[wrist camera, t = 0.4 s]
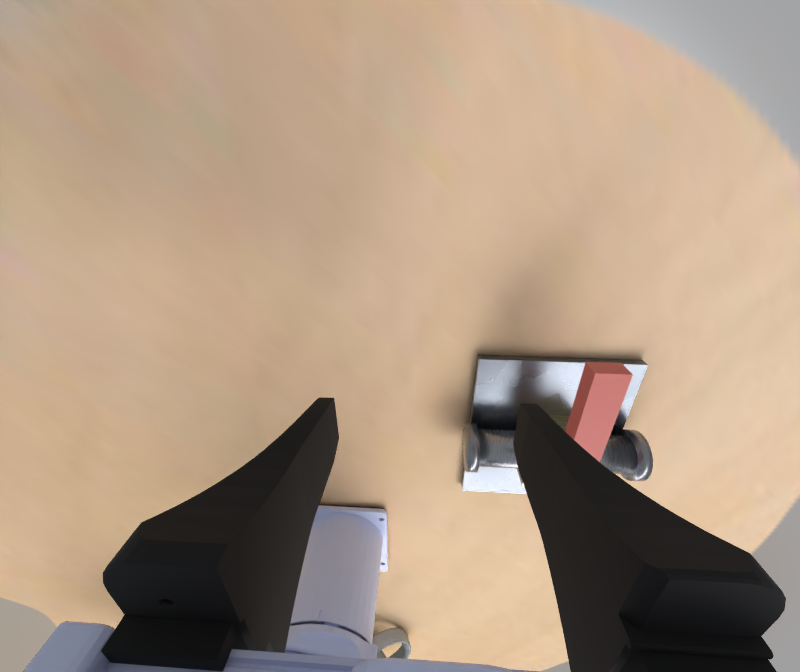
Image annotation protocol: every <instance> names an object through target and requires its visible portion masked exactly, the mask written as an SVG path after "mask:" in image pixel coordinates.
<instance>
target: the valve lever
mask: <svg viewBox="0 0 800 672" xmlns="http://www.w3.org/2000/svg"><path fill="white" fill-rule="evenodd" d="M632 377H633V374H632V373H631V372H630V371H629V370H628V369H627V368H626V367H625V366H624V365H623V364H622V363H610V362H586V363H585V366H584V369H583V373H582V376H581V380H580V383H579V386H578V390H577V393H576V396H575V400H574V403H573V406H572V410H571V413H570V417H569V420H568V423H567V427H566V430H565V432H566V433H567V434H568V435H569V436H570V437H571V438H573V439H574V440H575V441H576V442H577V443H578V444H579V445H580V446H581V447H582V448H584V449H585V450H586V451H587V452H588V453H589V454H591V455H592V456H593V457H594V458H595V459H596V460H598V461H599V462H600V461H601V458H602V455H603V453H604V450H605V448H606V445H607V442H608V440H609V437H610V434H611V432H612V429H613V427H614V424H615V421H616V419H617V416H618V413H619V411H620V408H621V405H622V403H623V400H624V398H625V395H626V392H627V390H628V387H629V384H630V382H631V379H632Z"/></svg>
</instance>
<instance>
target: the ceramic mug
mask: <svg viewBox="0 0 800 672" xmlns="http://www.w3.org/2000/svg"><path fill="white" fill-rule="evenodd" d="M396 643H402V646H401V647H400V648H399V649H398V650H397V651H396V652H395V653H394V654H393V655H391V656H390V657H389V658H401V659H408V657H409V655H410V652H411V646H410V642H409V639H408V635H407V633H406V632H405V631H404V630H403V629H401V628H390V629H387V630H384V631H382V632H380V633H378V634H377V635H375V636H373V640H372V644H374V645H377V646H378V648H377V658H386V656H385V654H384V653H383V651H382V649H384V648H386V647H387V646H390V645H393V644H396Z"/></svg>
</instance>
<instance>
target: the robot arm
mask: <svg viewBox="0 0 800 672" xmlns="http://www.w3.org/2000/svg"><path fill="white" fill-rule="evenodd" d="M338 440H339V434H338V426H337V418H336V410H335V402H334V398H318V399H317V400H316V401H315V402H314V403H313V404H312V405H311V406H310V407H309V408H308V409H307V410H306V411H305V412H304V413H303V414H302V415H301V416H300V417H299V418H298V419H297V420H296V421H295V422H294V423H293V424H292V425H291V426H290V427H289V428H288V429H287V430H286V431H285V432H284V433H283V434H282V435H281V436H279V437H278V438H277V439H276V440H275V441H274V442H273V443H272V444H270V445H269V446H268V447H267V448H266V449H265V450H263V451H262V452H261V453H260V454H259V455H257V456H256V457H255V458H253V459H252V460H251V461H249V462H248V463H247V464H245V465H244V466H243V467H241V468H240V469H238V470H237V471H235V472H234V473H232V474H231V475H229V476H227V477H226V478H224V479H223V480H221V481H220V482H218V483H217V484H215V485H213V486H212V487H210V488H208V489H207V490H205V491H203V492H202V493H200V494H198V495H196V496H194V497H192V498H191V499H189V500H187V501H185V502H183V503H181V504H179V505H177V506H175V507H173V508H171V509H169V510H167V511H165V512H163V513H161V514H159V515H157V516H155V517H153V518H151V519H148V520H146V521H144V522H142V523H141V524H140V525H139V526H138V528H137V529H136V530H135V531H134V533H133V534H132V535H131V536H130V538H129V539H128V540H127V541H126V543H125V544H124V545H123V546H122V548H121V549H120V550H119V552H118V553H117V554H116V555H115V557H114V558H113V559H112V561H111V562H110V563H109V564H108V566H107V567H106V569H105V570H104V572H103V583H104V585H105V587H106V589H107V591H108V592H109V594H110V595H111V597H112V598H113V599H114V601H115V602H116V603H117V605H118V606H119V607H120V609H121V610H122V612H123V613H124V614H125V615H124V617H123V618H122V620H121V621H120V623H119V624H118V626H117V628H116V629H114V628H113V627H110V626H108V625H104V624H98V623H83V622H69V621H65V622H63V623H61V624H60V625H59V626H58V627H57V629H56V630H55V631H54V633H53V634H52V635H51V636H50V638H49V639H48V640H47V642H46V643H45V644H44V645H43V646H42V648H41V649H40V650H39V652H38V653H37V654H36V655H35V657H34V658H33V659H32V660H31V662H30V663H29V664H28V666H27V667H26V668H25V669H24V671H23V672H538V671H524V670H510V669H506V668H501V667H496V666H491V665H483V664H470V663H456V662H442V661H429V660H415V659H401V658H377V648H378V646H377V645H374V644H372V640H373V630H374V621H375V612H376V602H377V593H378V583H379V574H380V572H386V571H387V570H388V531H387V511H386V510H384V509H375V508H358V507H340V506H323V505H319V503H320V501H321V498H322V495H323V492H324V489H325V486H326V483H327V480H328V477H329V475H330V472H331V469H332V466H333V463H334V459H335V454H336V450H337V445H338ZM513 446H514V451H515V456H516V461H517V465H518V469H519V472H520V475H521V478H522V481H523V484H524V487H525V490H526V493H527V496H528V498H529V501H530V504H531V507H532V510H533V513H534V515H535V518H536V521H537V524H538V527H539V530H540V533H541V537H542V540H543V544H544V548H545V552H546V556H547V560H548V564H549V568H550V573H551V577H552V581H553V586H554V590H555V595H556V599H557V604H558V609H559V613H560V618H561V623H562V628H563V633H564V638H565V643H566V648H567V654H568V659H569V664H570V670H571V672H776V670H775V669H774V667H773V666H772V665H771V663H770V662H769V660H768V659H772V658H773V653H772V651H771V649H770V648H769V647H768V645H767V644H766V642H765V641H764V640H763V638H762V637H761V636H762V635H763V634H764V632H765V631H766V630H767V629H768V628H769V627H770V626H771V625H772V624H773V623H774V622H775V621H776V620H777V619H778V618H779V617H780V615H781V614H782V612H783V611H784V608H785V601H786V598H785V596H784V594H783V592H782V591H781V589H780V588H779V587H778V586H777V585H776V584H775V582H774V581H773V580H772V579H771V578H770V576H769V575H768V574H767V573H766V572H765V570H764V569H763V568H762V567H761V566H760V565H759V563H758V562H757V561H756V560H755V559H754V558H753V557H752V555H751V554H750V553H748V552H746V551H744V550H742V549H740V548H738V547H736V546H734V545H732V544H730V543H728V542H726V541H724V540H722V539H720V538H718V537H716V536H714V535H712V534H710V533H708V532H706V531H704V530H703V529H701V528H699V527H697V526H695V525H694V524H692V523H690V522H688V521H687V520H685V519H683V518H681V517H679V516H678V515H676V514H674V513H673V512H671V511H669V510H668V509H666V508H664V507H663V506H661V505H659V504H658V503H656V502H655V501H653V500H652V499H650V498H649V497H647V496H645V495H644V494H642V493H641V492H639V491H638V490H636V489H635V488H633V487H632V486H631V485H629V484H628V483H626V482H625V481H624V480H622V479H621V478H620V477H618V476H617V475H616V474H614V473H613V472H611V471H610V470H609V469H608V468H606V467H605V466H604V465H602V464H601V463H600V462H599V461H598V460H596V459H595V458H594V457H593V456H592V455H591V454H589V453H588V452H587V451H586V450H585V449H584V448H582V447H581V446H580V445H579V444H578V443H577V442H576V441H575V440H574V439H573V438H571V437H570V436H569V435H568V434H567V433H566V432H565V431H564V430H563V429H562V428H561V427H560V426H559V425H558V424H557V423H556V422H555V421H554V420H553V419H552V418H551V417H550V416H549V415H548V414H547V413H546V412H545V411H544V410H543V409H542V408H541V407H540V406H539V405H538V404H526V403H521V404H520V409H519V414H518V420H517V425H516V430H515V435H514V441H513Z"/></svg>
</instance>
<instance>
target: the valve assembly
mask: <svg viewBox="0 0 800 672" xmlns="http://www.w3.org/2000/svg"><path fill="white" fill-rule="evenodd" d="M586 362H610V363H622V364H623V365H624V366H625V367H626V368H627V369H628V370H629V371H630V372H631V373H632V374H633V377H632V379H631V382H630V384H629V387H628V390H627V392H626V395H625V398H624V400H623V403H622V405H621V408H620V411H619V413H618V416H617V419H616V421H615V424H614V427H613V429H612V432H611V434H610V437H609V440H608V442H607V445H606V448H605V450H604V453H603V455H602V458H601V461H600V463H601V464H602V465H604V466H605V467H606V468H608V469H609V470H610V471H611V472H613V473H614V474H621V475H622V476H623V477H624V478H625V479H627V480H630V481H645V480H647V479H648V478H649V476H650V475H651V472H652V467H653V458H652V452H651V449H650V446H649V444H648V442H647V440H646V439H645V437H644V436H643V435H642V434H641V433H640V432H638V431H636V430H622V429H623V427H624V424H625V422H626V419H627V417H628V414H629V412H630V409H631V407H632V404H633V402H634V399H635V397H636V394H637V392H638V389H639V387H640V384H641V382H642V379H643V377H644V374H645V372H646V369H647V367H648V365H647V364H646V363H645V362H644V361H643V360H618V359H589V358H559V357H529V356H499V355H478V357H477V365H476V373H475V381H474V389H473V397H472V405H471V413H470V421H469V423H465V425H464V430H463V461H464V469H463V477H462V491H480V492H499V493H517V494H527V493H526V490H525V487H524V484H523V481H522V478H521V475H520V472H519V469H518V465H517V461H516V456H515V451H514V446H513V441H514V435H515V430H516V425H517V420H518V414H519V409H520V404H521V403H526V404H538V405H539V406H540V407H541V408H542V409H543V410H544V411H545V412H546V413H547V414H548V415H549V416H550V417H551V418H552V419H553V420H554V421H555V422H556V423H557V424H558V425H559V426H560V427H561V428H562V429H563V430H564V431H565V430H566V427H567V423H568V420H569V417H570V413H571V410H572V406H573V403H574V400H575V396H576V393H577V390H578V386H579V383H580V380H581V376H582V373H583V369H584V366H585V363H586Z"/></svg>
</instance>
